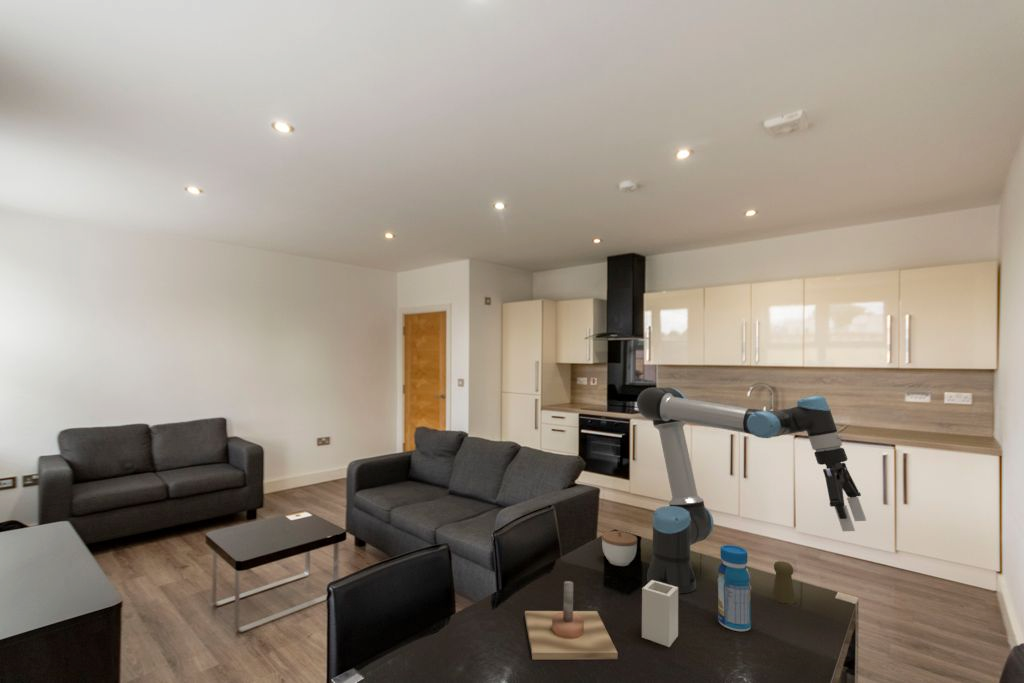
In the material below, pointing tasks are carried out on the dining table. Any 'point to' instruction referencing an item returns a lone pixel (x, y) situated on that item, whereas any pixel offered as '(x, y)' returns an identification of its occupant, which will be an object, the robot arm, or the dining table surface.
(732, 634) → the dining table surface
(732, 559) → the beverage bottle
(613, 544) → the white lidded jar
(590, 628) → the post board
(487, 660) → the dining table surface
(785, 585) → the olive pepper shaker
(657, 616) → the sleeve
